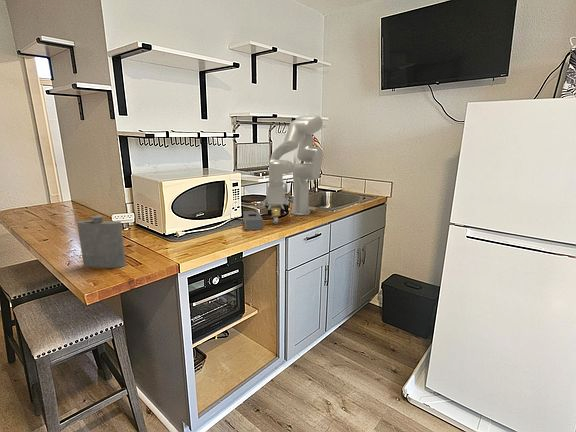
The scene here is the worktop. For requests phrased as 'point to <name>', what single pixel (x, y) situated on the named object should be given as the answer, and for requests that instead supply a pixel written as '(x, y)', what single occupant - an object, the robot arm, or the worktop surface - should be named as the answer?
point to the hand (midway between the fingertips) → (275, 215)
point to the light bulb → (275, 214)
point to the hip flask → (101, 243)
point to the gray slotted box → (252, 220)
